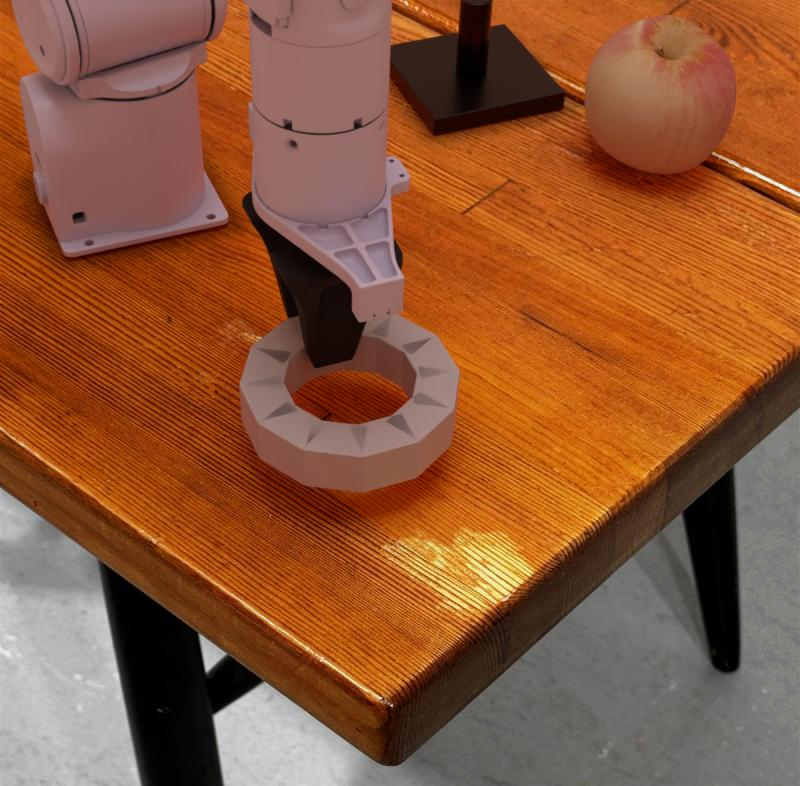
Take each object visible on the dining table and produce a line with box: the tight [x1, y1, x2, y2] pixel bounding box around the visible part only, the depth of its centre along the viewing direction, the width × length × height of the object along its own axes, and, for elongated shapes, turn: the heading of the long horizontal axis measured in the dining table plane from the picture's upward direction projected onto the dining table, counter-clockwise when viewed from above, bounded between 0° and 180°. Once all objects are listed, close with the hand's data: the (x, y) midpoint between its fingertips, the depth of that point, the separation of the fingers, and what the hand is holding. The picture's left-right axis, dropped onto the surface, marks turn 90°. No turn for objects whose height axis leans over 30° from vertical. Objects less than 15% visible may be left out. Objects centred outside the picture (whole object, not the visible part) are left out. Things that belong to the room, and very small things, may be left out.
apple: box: [583, 14, 737, 175], centre depth 86 cm, size 9×9×8 cm
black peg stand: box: [389, 0, 566, 136], centre depth 92 cm, size 9×9×6 cm
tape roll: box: [238, 314, 461, 494], centre depth 69 cm, size 10×10×2 cm
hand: (321, 341), depth 71 cm, fingers closed on tape roll, 2 cm apart
